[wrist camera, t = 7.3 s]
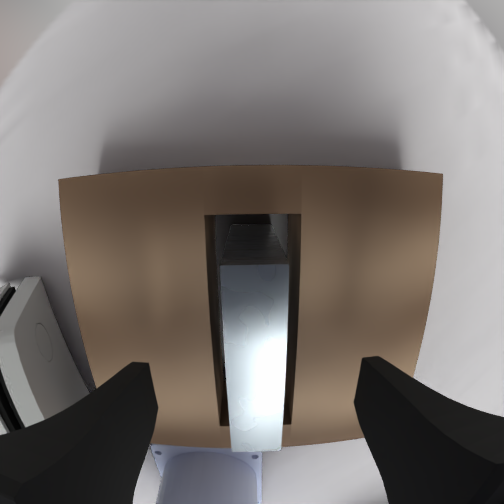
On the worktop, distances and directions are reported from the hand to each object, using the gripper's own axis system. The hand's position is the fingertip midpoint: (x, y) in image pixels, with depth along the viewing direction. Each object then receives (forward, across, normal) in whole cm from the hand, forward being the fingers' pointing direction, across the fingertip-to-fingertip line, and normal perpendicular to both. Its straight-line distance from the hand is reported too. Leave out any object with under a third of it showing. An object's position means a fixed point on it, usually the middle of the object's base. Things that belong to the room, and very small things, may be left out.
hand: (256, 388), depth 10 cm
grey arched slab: (+8, +13, +7) cm, 16 cm away
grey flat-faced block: (+7, 0, 0) cm, 7 cm away
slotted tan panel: (+7, 0, 0) cm, 7 cm away
